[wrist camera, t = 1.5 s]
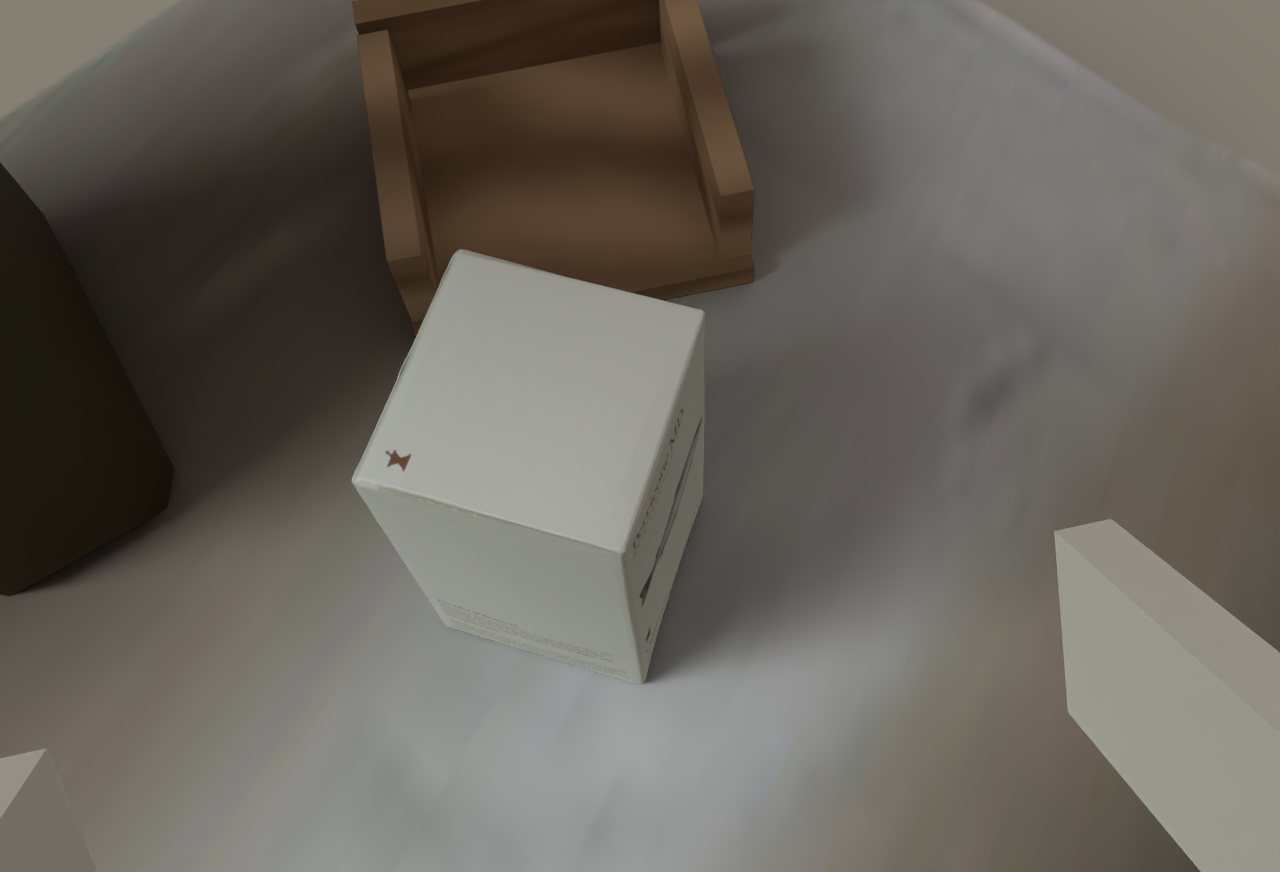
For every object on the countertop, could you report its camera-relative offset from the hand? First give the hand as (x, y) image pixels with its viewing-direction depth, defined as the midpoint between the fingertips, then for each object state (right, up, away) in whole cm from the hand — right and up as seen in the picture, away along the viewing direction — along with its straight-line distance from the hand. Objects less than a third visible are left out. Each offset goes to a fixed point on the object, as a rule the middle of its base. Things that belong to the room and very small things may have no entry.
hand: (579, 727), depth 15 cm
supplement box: (-1, -1, +26) cm, 26 cm away
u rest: (-3, +14, +33) cm, 36 cm away
